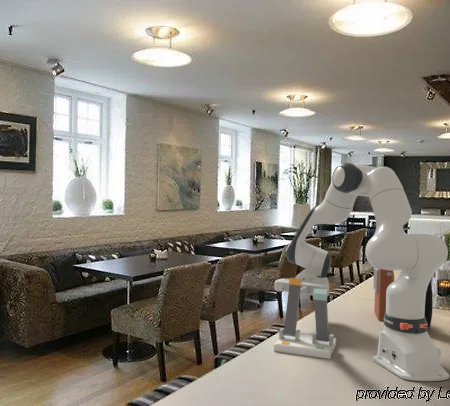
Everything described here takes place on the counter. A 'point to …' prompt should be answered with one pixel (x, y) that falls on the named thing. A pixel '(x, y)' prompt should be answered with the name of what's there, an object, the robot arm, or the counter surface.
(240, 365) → the counter surface
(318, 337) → the lever teal
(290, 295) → the lever orange
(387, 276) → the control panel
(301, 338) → the console
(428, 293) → the portable speaker
